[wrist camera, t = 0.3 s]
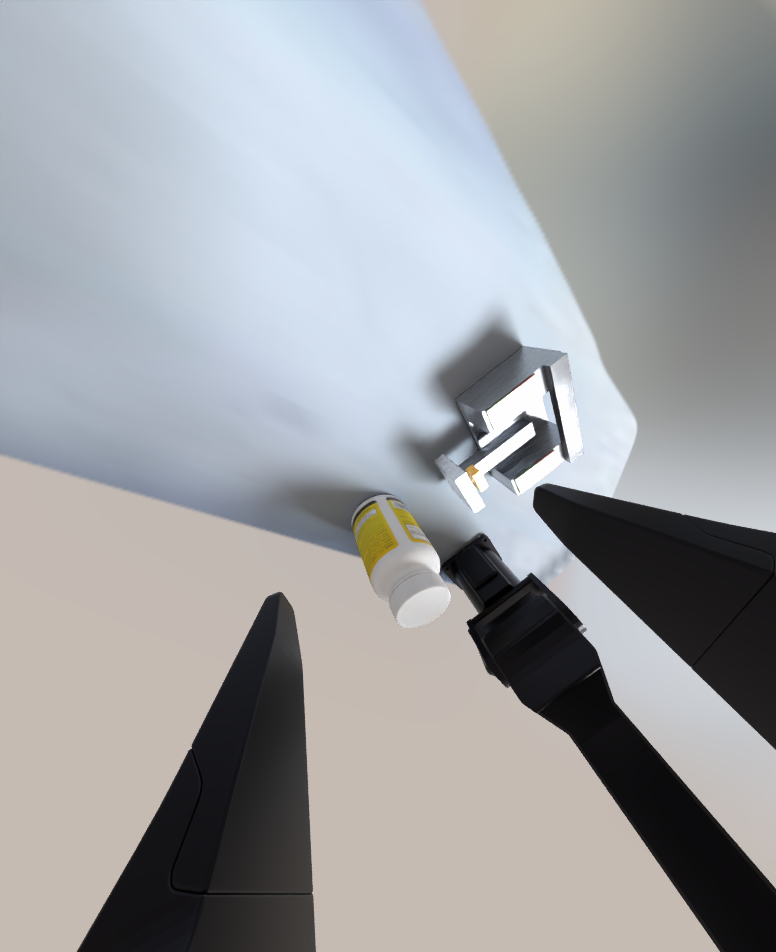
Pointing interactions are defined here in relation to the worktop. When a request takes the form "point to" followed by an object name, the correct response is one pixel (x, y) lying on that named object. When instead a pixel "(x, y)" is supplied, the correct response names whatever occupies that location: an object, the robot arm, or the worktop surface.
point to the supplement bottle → (400, 561)
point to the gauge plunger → (483, 463)
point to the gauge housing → (526, 414)
